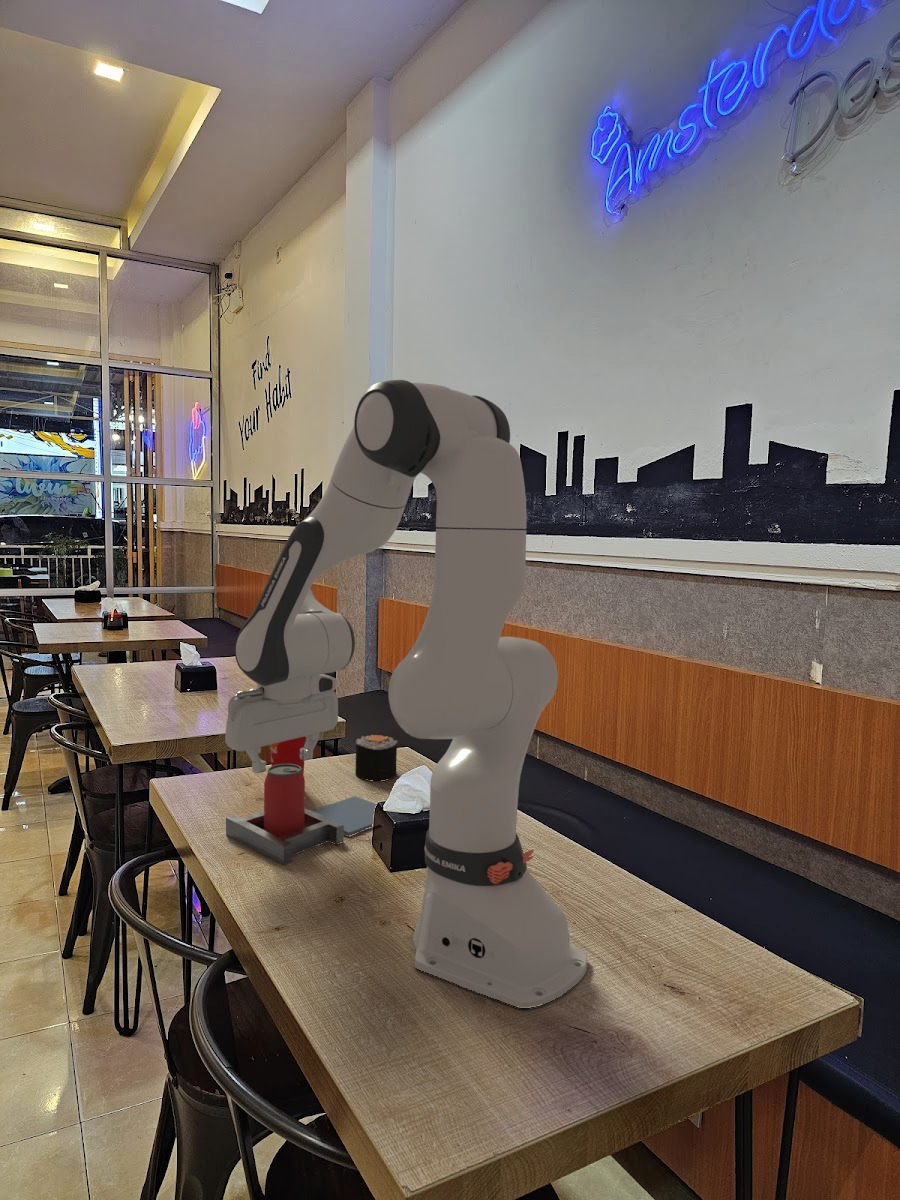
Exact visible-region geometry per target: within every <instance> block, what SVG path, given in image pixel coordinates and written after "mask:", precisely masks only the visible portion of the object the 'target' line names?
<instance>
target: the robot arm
mask: <svg viewBox="0 0 900 1200" xmlns="http://www.w3.org/2000/svg"><path fill="white" fill-rule="evenodd" d="M354 415H355V416H354V423H353V427H352V429H351V430H350V432H349V434H348V436H347V438H346V440H345V442H344V444H343V446H342V448H341V451H340V453H339V456H338V457H337V460H336V463H335V465H334V469H333V471H332V475H331V477H330V480H329V484H328V485H327V488H326V490H325V492H324V494H323V495H322V498H321V499H320V500H319V502H318V504H317V505H316V506H315V508H313V510H312V511H311V512H310V513H309V515H308V516H307V517H306V518H305V519H303V520H302V521H300V522H299V523H298V524H297V525H296V526H294V528H293V530H292V531H291V533H290V534H289V537H288V539H287V540H286V542H285V544H284V546H283V548H282V550H281V552H280V555H279V556H278V558H277V559H276V560H277V561H276V563H275V566H274V567H273V568H272V569H273V570H272V571H271V574H270V575H269V578H268V580H267V582H266V584H265V586H264V588H263V591H262V593H261V594H260V597H259V599H258V601H257V603H256V606H255V607H254V609H253V611H252V612H251V614H250V615H249V616H248V618H246V620H245V622H244V624H242V627H241V628H240V630H239V632H238V634H237V637H236V640H235V643H234V656H235V657H234V658H235V661H236V664H237V666H238V668H239V669H240V670H241V671H242V673H244V675H245V676H246V677H248V678H249V679H250V680H252V681H254V682H255V683H256V687H255V688H251V689H248V690H240V691H239V690H238V691H237V692H236V693H235V695H233V696H232V697H231V698H230V699H229V700H228V702H227V713H228V714H227V720H226V726H225V736H224V737H225V738H224V741H225V744H226V745H227V746H228V748H230V749H232V750H234V751H237V752H246V754H247V756H248V758H249V759H250V761H251V762H252V763H251V770H252V772H253V773H255V774H258V775H259V774H260V773H264V772H266V771H267V761H265V760H263V759H261V758H260V755H259V754H261V753H262V747H267V746H270V745H271V744H275V743H279V742H283V741H287V740H291V739H296V738H300V737H304V736H305V737H306V742H305V745H304V748H301V749H300V759H302V760H304V762H305V761H309V760H313V758H314V749H315V748H316V745H317V743H318V741H319V740H320V733H325V732H329V731H332V730H334V729H335V728H336V725H337V724H338V720H339V699H338V694H337V692H335V690H336V689H337V687H338V679H337V678H335V677H334V676H331V675H328V674H331V673H334V672H338V671H342V670H344V669H345V668H346V667H347V666H348V665H349V663H350V662H351V661H352V658H353V656H354V653H355V648H356V646H355V645H356V637H355V632H354V630H353V626H352V625H351V623H350V622H349V620H348V619H347V618H346V617H345V616H344V615H343V614H341V613H338V612H335V611H332V610H330V609H329V608H327V607H326V606H325V605H323V604H322V603H320V602H319V601H318V600H317V599H316V598H315V595H314V594H313V593H314V592H313V591H312V589H311V587H312V585H313V584H314V582H315V581H316V580H317V579H318V578H319V577H321V575H323V574H324V573H326V572H327V571H329V570H331V568H333V567H336V566H337V565H340V564H342V563H344V562H346V561H349V560H352V559H354V558H357V557H361V556H363V555H367V554H369V553H371V552H373V551H376V550H377V549H379V548H381V547H382V546H384V545H385V544H386V543H388V541H389V540H390V539H391V537H392V536H393V535H394V533H395V531H396V530H397V529H398V526H399V525H400V522H401V519H402V516H403V514H404V512H405V508H406V505H407V504H408V503H407V502H408V499H409V496H410V494H411V490H412V487H413V484H414V482H415V480H416V478H417V476H419V474H423V475H425V477H427V478H428V479H429V480H430V481H431V483H432V484H433V486H434V489H435V494H436V513H435V514H436V516H435V517H436V518H435V528H436V529H435V549H434V554H435V555H434V574H433V575H434V576H433V587H432V594H431V598H430V603H429V606H428V611H427V613H426V617H425V619H424V623H423V624H422V628H421V629H420V632H419V634H418V636H417V638H416V641H415V643H414V644H413V646H412V647H411V649H410V651H409V652H408V653H406V656H405V657H404V658H403V659H402V660H401V661H399V663H398V664H397V665H396V667H395V668H394V669H393V672H392V674H391V677H390V680H389V684H388V703H389V707H390V711H391V714H392V715H393V717H394V720H395V721H396V723H397V724H398V726H399V727H400V728H401V729H402V730H403V731H404V732H405V734H408V735H409V736H411V737H413V738H416V739H420V740H422V739H423V740H452V741H451V742H450V745H449V747H447V750H446V752H445V753H444V755H443V756H442V757H441V758H440V759H439V761H438V762H437V764H436V765H435V767H434V768H433V771H432V774H431V777H430V787H429V788H430V789H429V790H430V792H429V821H428V823H429V824H428V825H429V827H428V830H426V833H425V845H424V862H425V865H426V874H425V875H426V878H425V885H424V892H423V897H422V902H421V907H420V913H419V917H418V919H417V920H418V921H417V923H416V927H415V929H414V932H413V936H412V940H413V941H412V942H413V945H414V948H415V951H416V952H415V955H414V963H413V966H414V965H415V966H414V968H415V969H416V968H417V969H419V970H421V971H420V972H422V971H424V972H423V973H425V972H427V973H429V974H428V975H430V974H432V975H434V976H433V977H435V976H438V977H439V978H438V977H437V978H438V979H440V978H443V979H446V980H448V981H450V982H449V983H451V982H453V983H455V984H454V985H456V984H457V985H456V986H458V985H459V987H461V988H464V989H466V988H467V990H470V991H471V990H472V991H471V992H474V991H475V992H474V993H477V994H479V993H480V994H479V995H482V994H483V995H482V996H484V995H486V996H485V997H487V996H488V998H490V997H491V998H490V999H492V998H495V999H498V1000H501V1001H503V1002H507V1003H509V1004H512V1005H514V1006H519V1007H530V1006H531V1007H532V1006H537V1005H540V1004H544V1003H547V1002H549V1001H552V1000H554V1001H556V1000H557V999H556V998H558V997H560V996H561V997H563V996H564V995H565V994H564V993H566V992H567V991H568V990H570V989H571V988H572V987H573V986H574V987H576V986H577V985H578V984H579V983H580V982H581V980H582V979H583V978H584V977H585V975H586V973H587V970H588V955H587V953H586V952H585V951H583V950H582V949H580V948H579V947H578V946H576V945H574V944H573V943H572V942H570V933H569V932H570V931H569V925H568V921H567V916H566V914H565V913H564V911H563V910H562V908H561V907H559V905H558V904H557V903H556V902H555V901H554V900H553V899H552V897H551V895H549V894H548V893H547V892H546V890H545V889H544V888H543V887H542V886H541V885H540V883H539V881H537V880H536V879H535V877H534V876H533V875H532V874H531V873H530V871H528V869H527V868H528V867H527V862H529V861H531V860H532V859H534V855H532V854H533V853H534V851H535V849H529V850H528V851H526V852H524V851H523V847H522V845H521V844H522V843H521V841H520V837H519V835H518V833H517V821H518V820H517V819H518V807H519V790H520V781H521V775H522V770H523V766H524V762H525V758H526V756H527V755H526V754H527V752H528V749H529V747H530V743H531V740H532V736H533V734H534V731H535V728H536V726H537V723H538V721H539V719H540V717H541V714H542V713H543V712H544V710H545V708H546V707H547V706H548V704H549V703H550V702H551V700H552V699H553V697H554V696H555V694H556V692H557V689H558V682H559V671H558V667H557V664H556V661H555V659H554V657H553V656H552V654H551V652H550V651H549V650H548V648H547V647H545V646H544V645H543V644H541V643H540V642H538V641H535V640H533V639H532V640H531V639H528V638H522V637H517V636H501V635H502V631H503V629H504V627H505V626H504V625H505V623H506V622H507V619H508V617H509V615H510V613H511V612H512V610H513V609H514V608H515V607H516V606H517V605H518V603H519V602H520V601H521V599H522V597H523V595H524V593H525V589H526V562H527V561H526V558H527V555H526V554H527V530H526V529H527V515H528V514H527V498H526V497H527V496H526V486H525V479H524V471H523V467H522V461H521V457H520V454H519V452H518V451H517V449H516V448H515V447H514V446H513V445H512V444H510V442H511V429H510V424H509V423H510V422H509V421H508V418H507V416H506V414H505V412H504V411H503V410H502V409H501V408H500V407H499V406H498V405H497V404H495V403H494V402H492V401H490V400H489V399H486V398H484V397H482V396H479V395H470V394H468V393H465V392H462V391H459V390H455V389H451V388H449V387H447V386H444V385H438V384H433V383H425V382H411V381H409V380H404V379H392V380H384V381H379V382H376V383H374V384H373V385H370V387H368V388H367V389H366V390H365V391H364V393H362V396H361V397H360V400H359V402H358V404H357V407H356V410H355V413H354ZM417 969H416V970H417ZM419 970H418V971H419ZM427 973H426V974H427ZM432 975H431V976H432ZM443 979H442V980H443ZM448 981H447V982H448ZM578 982H579V983H578ZM453 983H452V984H453ZM577 983H578V984H577ZM576 984H577V985H576ZM575 985H576V986H575ZM574 987H573V988H574ZM573 988H572V989H573ZM572 989H571V990H572ZM571 990H570V991H571ZM568 992H569V991H568ZM568 992H567V993H568ZM567 993H566V994H567ZM563 994H564V995H563ZM562 995H563V996H562ZM561 997H560V998H561ZM495 999H494V1000H495ZM555 999H556V1000H555ZM558 999H559V998H558ZM503 1002H502V1003H503ZM552 1002H553V1001H552Z"/></svg>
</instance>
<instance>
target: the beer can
mask: <svg viewBox="0 0 900 1200" xmlns="http://www.w3.org/2000/svg"><path fill="white" fill-rule="evenodd" d="M266 771H267V774H266V776H265V779H264V782H263V783H264V784H263V788H264V789H263V793H264V794H263V798H264V799H263V807H264V808H263V811H264V830H265V831H267V832H269V833H271V834H273V835H275V836H277V837H280V836H283V835H286V834H289V833H292V832H295V831H297V830H300V829H303V828H304V819H305V808H306V807H305V805H306V804H305V800H306V799H305V798H306V795H305V793H306V781H305V776H304V774H303V773H302V768H301V767H300V766H298V765H295V764H278V765H274V766H271V765H270V767H268V768H267V770H266Z"/></svg>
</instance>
